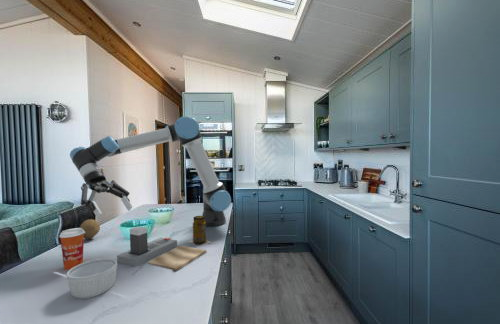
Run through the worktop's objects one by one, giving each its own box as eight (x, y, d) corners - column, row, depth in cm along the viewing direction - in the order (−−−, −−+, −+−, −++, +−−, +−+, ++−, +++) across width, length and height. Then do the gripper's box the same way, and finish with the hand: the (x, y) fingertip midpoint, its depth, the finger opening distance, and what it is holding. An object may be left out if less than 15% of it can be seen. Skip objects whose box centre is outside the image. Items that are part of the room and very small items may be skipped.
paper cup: (58, 274, 85) (56, 235, 85) (63, 265, 92) (61, 229, 92) (84, 269, 89) (83, 231, 88) (87, 261, 96) (86, 226, 95)
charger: (139, 255, 99) (138, 226, 99) (147, 256, 97) (146, 227, 97) (130, 258, 96) (129, 228, 95) (139, 261, 94) (138, 230, 93)
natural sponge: (104, 237, 124) (103, 218, 123) (86, 243, 116) (85, 222, 116) (94, 235, 128) (93, 216, 128) (75, 240, 120) (74, 220, 120)
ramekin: (61, 306, 67) (60, 281, 67) (74, 283, 79) (73, 262, 79) (115, 294, 72) (114, 271, 72) (119, 274, 84) (119, 255, 84)
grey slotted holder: (160, 243, 113) (160, 236, 113) (177, 246, 109) (177, 239, 109) (117, 263, 93) (117, 254, 93) (135, 267, 89) (134, 258, 89)
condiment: (202, 238, 120) (202, 214, 119) (211, 242, 113) (210, 217, 113) (189, 241, 115) (188, 216, 115) (197, 246, 109) (196, 220, 108)
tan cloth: (180, 247, 108) (180, 245, 108) (206, 252, 102) (206, 250, 102) (147, 264, 92) (147, 261, 92) (176, 271, 86) (176, 268, 86)
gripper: (115, 178, 120) (137, 211, 113) (57, 184, 97) (80, 225, 91) (122, 168, 117) (144, 200, 111) (64, 171, 95) (88, 212, 89)
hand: (116, 212), depth 101 cm, fingers open, 13 cm apart
